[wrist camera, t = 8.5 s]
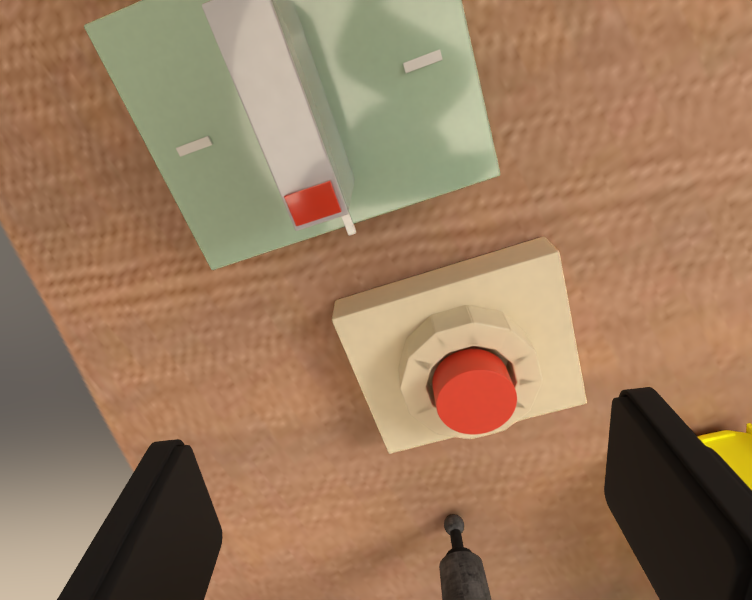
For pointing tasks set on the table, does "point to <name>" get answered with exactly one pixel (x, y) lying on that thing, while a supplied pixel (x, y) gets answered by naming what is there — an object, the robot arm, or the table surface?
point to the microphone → (461, 568)
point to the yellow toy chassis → (733, 450)
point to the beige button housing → (463, 338)
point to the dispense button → (473, 392)
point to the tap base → (346, 100)
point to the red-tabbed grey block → (285, 105)
